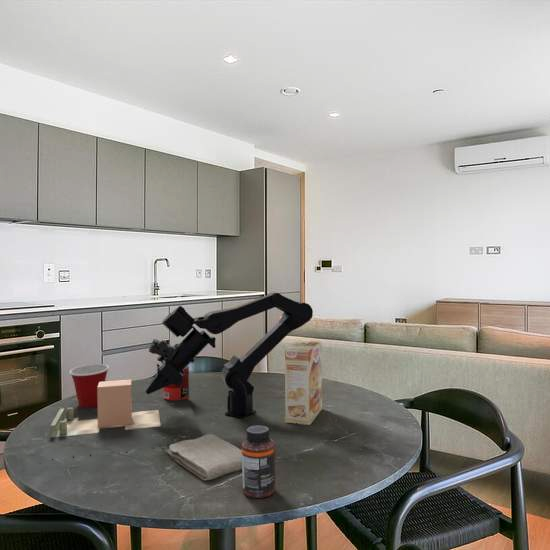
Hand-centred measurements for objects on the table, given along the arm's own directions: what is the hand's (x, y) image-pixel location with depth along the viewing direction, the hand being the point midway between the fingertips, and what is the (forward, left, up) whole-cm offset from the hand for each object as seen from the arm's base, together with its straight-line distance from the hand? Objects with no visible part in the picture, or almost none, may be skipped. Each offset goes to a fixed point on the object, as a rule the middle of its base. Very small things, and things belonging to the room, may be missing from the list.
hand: (146, 392), depth 118 cm
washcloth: (-29, +9, -9) cm, 32 cm away
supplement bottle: (-46, +15, -8) cm, 49 cm away
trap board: (+6, +7, -8) cm, 12 cm away
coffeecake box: (-32, -27, -8) cm, 43 cm away
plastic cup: (+25, 0, -8) cm, 26 cm away
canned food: (+9, -19, -8) cm, 23 cm away
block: (+5, +6, -7) cm, 10 cm away
